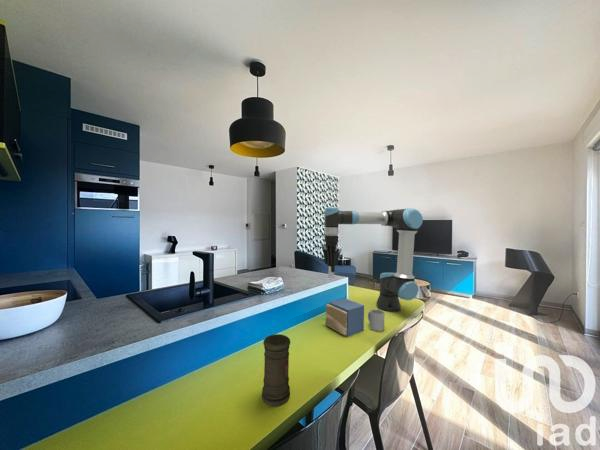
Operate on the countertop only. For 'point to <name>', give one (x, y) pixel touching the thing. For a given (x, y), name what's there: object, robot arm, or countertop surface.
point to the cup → (376, 320)
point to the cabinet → (351, 314)
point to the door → (336, 319)
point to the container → (276, 370)
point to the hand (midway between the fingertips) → (331, 277)
